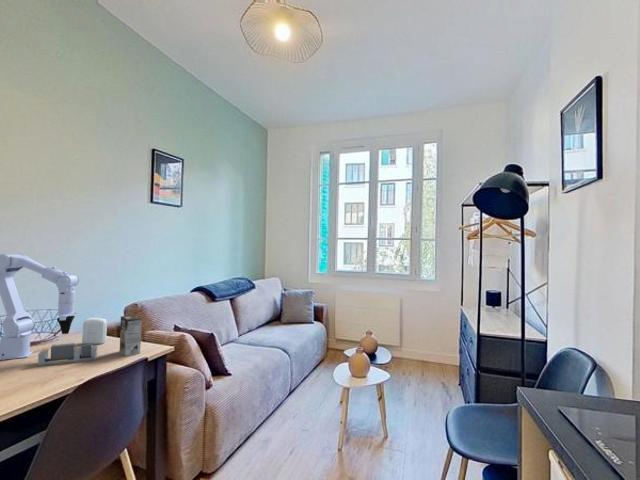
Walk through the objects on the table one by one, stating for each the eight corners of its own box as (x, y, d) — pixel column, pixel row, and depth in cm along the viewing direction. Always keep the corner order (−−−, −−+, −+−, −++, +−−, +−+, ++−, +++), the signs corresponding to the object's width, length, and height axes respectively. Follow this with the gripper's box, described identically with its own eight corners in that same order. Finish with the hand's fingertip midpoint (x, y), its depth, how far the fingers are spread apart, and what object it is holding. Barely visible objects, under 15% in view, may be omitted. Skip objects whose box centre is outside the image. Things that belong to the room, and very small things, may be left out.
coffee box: (118, 351, 152) (120, 316, 153) (134, 348, 157) (135, 314, 157) (124, 356, 146) (126, 319, 146) (140, 353, 151) (142, 317, 151)
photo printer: (107, 341, 166) (108, 317, 166) (103, 344, 162) (104, 318, 162) (85, 341, 165) (86, 317, 165) (80, 344, 161) (81, 318, 161)
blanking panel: (50, 364, 135) (51, 346, 135) (51, 362, 137) (52, 345, 137) (73, 361, 138) (73, 344, 138) (74, 359, 140) (74, 343, 140)
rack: (37, 366, 132) (38, 351, 132) (41, 361, 136) (42, 347, 137) (95, 360, 140) (95, 345, 141) (96, 356, 145) (97, 342, 145)
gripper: (74, 304, 139) (73, 337, 139) (80, 299, 152) (79, 328, 152) (53, 305, 136) (52, 338, 136) (61, 299, 149) (60, 330, 149)
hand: (65, 333), depth 144 cm, fingers closed
